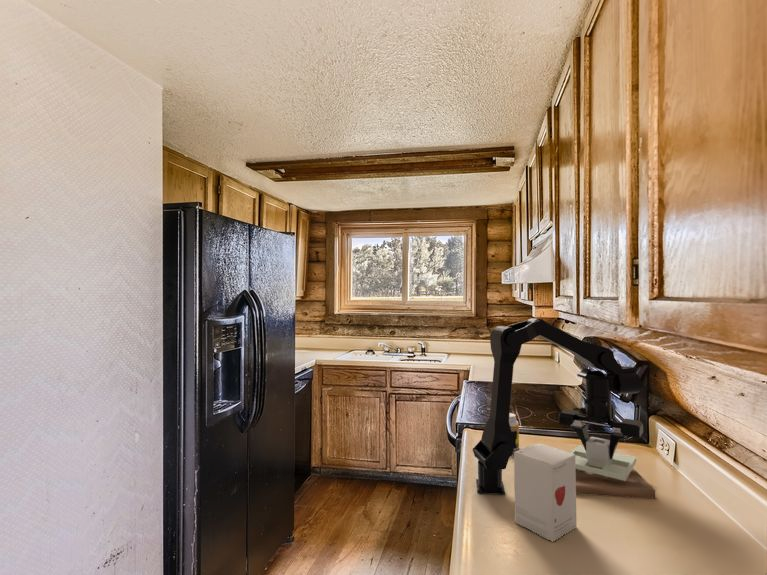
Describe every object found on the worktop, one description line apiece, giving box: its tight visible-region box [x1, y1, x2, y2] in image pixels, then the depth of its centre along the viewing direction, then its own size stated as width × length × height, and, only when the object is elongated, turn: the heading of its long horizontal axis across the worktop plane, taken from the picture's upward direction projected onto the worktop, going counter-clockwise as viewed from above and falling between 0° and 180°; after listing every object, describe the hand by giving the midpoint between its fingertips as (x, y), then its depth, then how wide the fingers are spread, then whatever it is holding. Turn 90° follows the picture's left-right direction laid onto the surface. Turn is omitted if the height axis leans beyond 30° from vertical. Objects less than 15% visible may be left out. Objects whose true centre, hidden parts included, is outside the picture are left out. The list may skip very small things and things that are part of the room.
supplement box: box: [513, 442, 578, 542], centre depth 85 cm, size 9×9×15 cm
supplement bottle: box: [509, 412, 520, 451], centre depth 128 cm, size 6×6×10 cm
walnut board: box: [576, 456, 656, 500], centre depth 106 cm, size 18×18×7 cm
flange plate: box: [570, 436, 637, 481], centre depth 106 cm, size 14×14×6 cm
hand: (599, 456), depth 106 cm, fingers closed on flange plate, 5 cm apart
